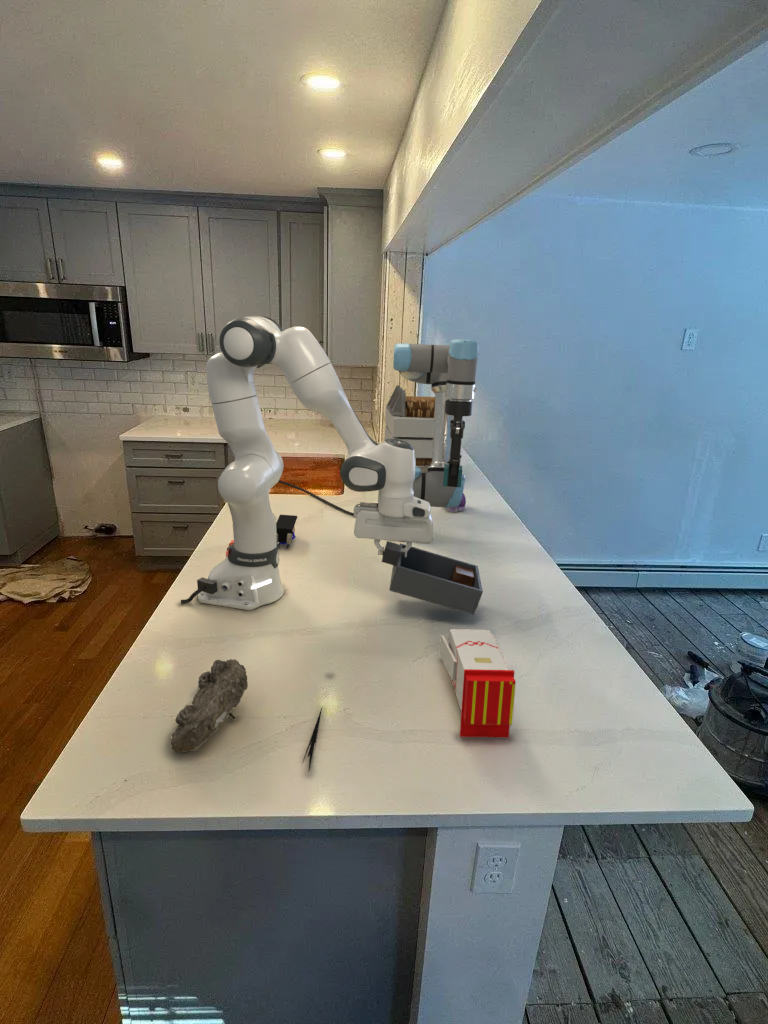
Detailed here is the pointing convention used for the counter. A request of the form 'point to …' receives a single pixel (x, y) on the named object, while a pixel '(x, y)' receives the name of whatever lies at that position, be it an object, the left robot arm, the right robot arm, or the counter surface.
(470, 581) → the walnut cube
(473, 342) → the right robot arm
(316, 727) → the feather
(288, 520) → the figurine character
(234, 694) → the fossil
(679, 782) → the counter surface
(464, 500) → the figurine
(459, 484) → the teal cube
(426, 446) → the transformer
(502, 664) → the toy
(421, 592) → the bin
